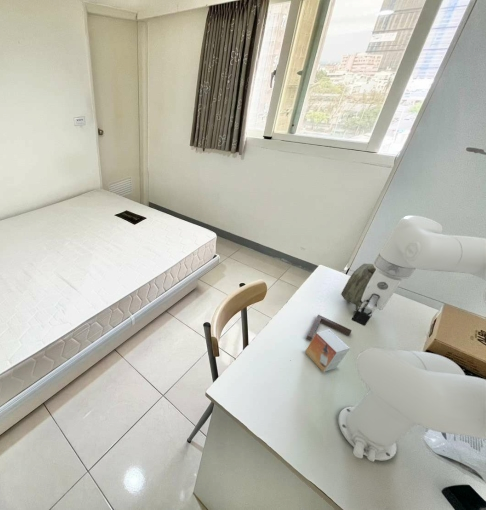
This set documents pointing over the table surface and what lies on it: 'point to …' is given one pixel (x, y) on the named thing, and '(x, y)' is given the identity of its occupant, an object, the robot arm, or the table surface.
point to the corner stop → (328, 323)
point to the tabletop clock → (358, 284)
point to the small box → (326, 350)
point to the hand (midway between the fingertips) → (361, 312)
